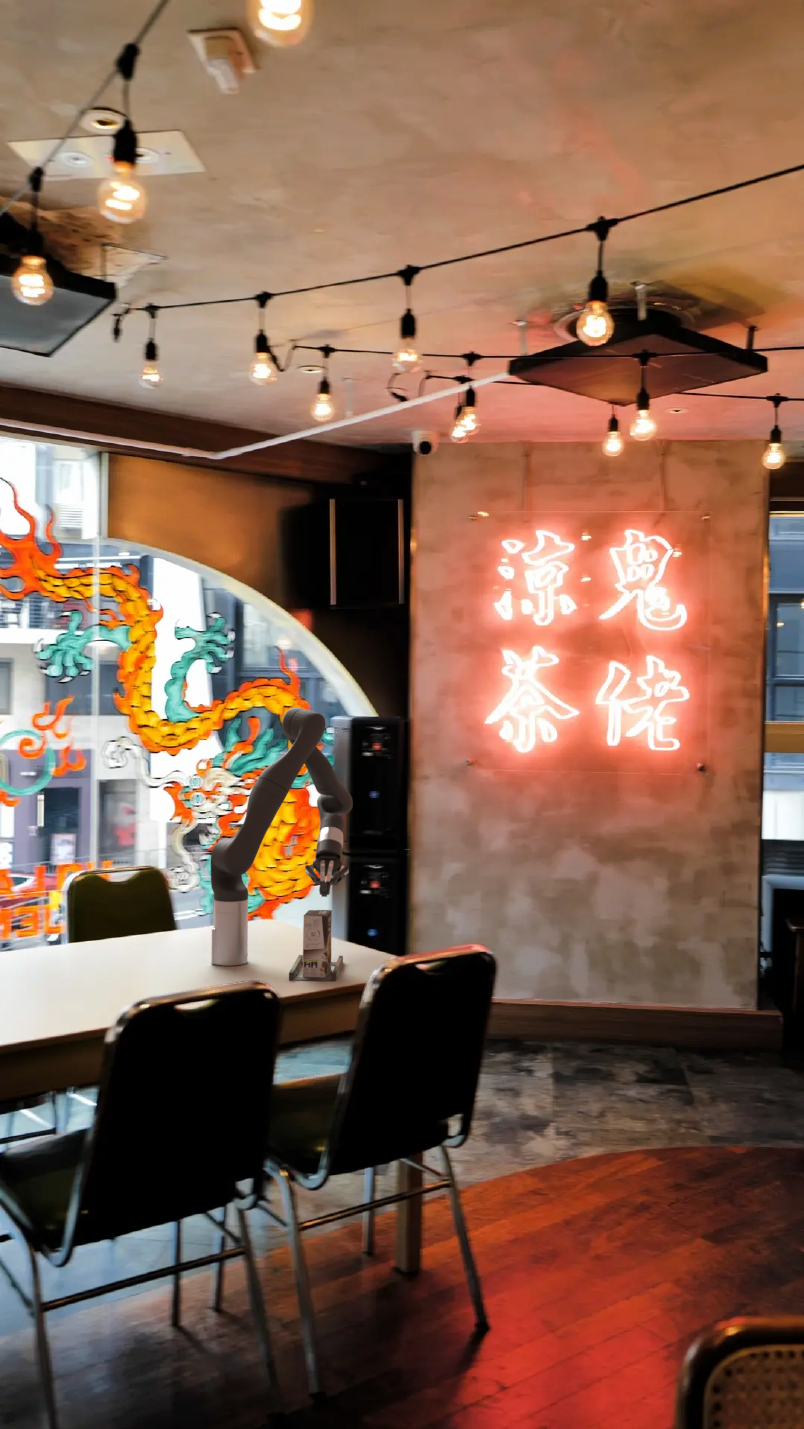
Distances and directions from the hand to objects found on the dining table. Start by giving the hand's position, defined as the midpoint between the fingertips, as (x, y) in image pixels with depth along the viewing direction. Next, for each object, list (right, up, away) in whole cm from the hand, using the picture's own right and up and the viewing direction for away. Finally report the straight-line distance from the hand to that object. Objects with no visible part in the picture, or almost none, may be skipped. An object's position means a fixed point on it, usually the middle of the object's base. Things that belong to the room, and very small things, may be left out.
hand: (324, 895), depth 315 cm
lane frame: (-1, -17, -17) cm, 25 cm away
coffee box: (0, -18, -20) cm, 27 cm away
